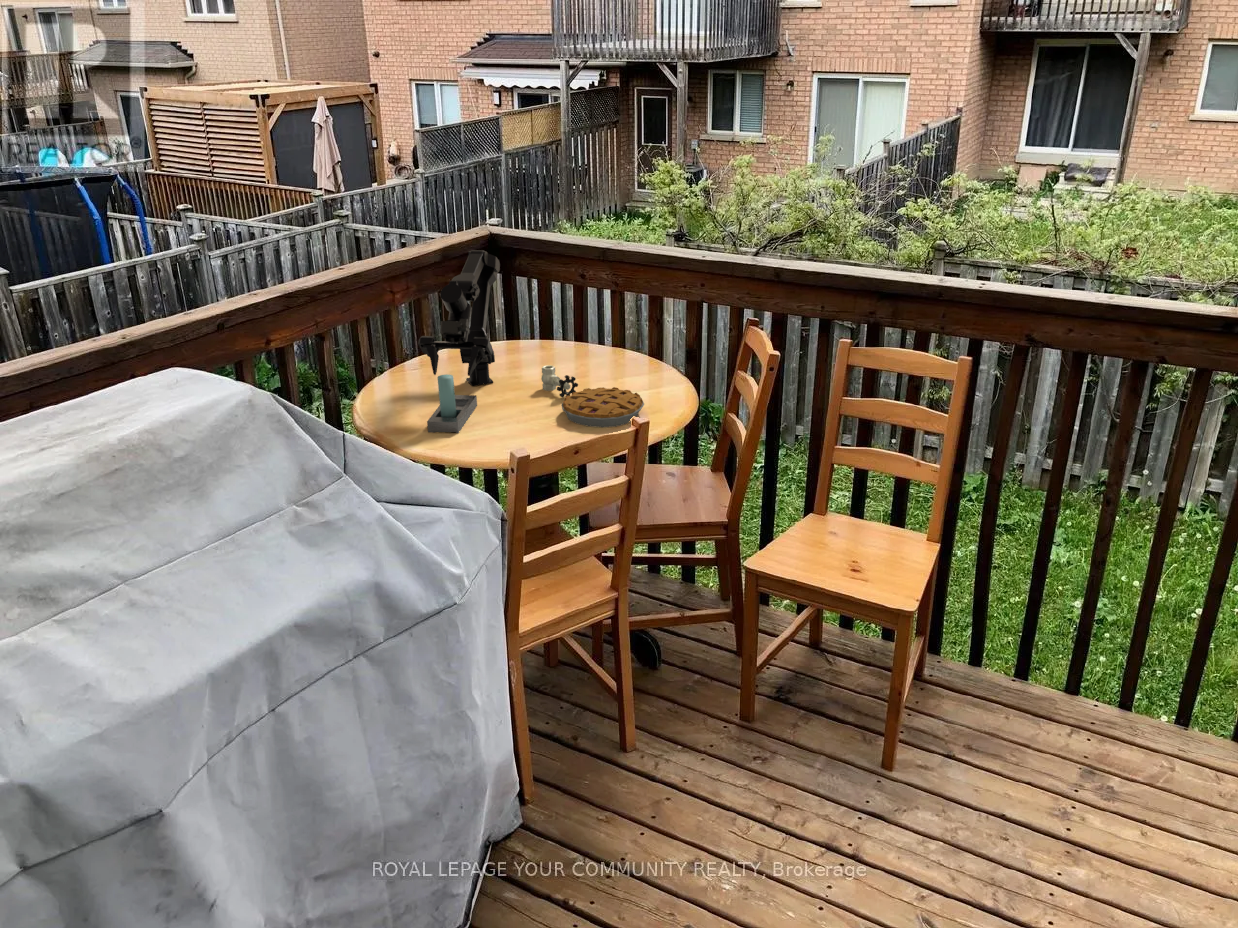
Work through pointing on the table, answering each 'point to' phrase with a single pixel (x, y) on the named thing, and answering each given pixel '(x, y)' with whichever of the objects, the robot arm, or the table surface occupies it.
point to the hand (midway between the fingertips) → (451, 374)
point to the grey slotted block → (449, 424)
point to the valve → (557, 381)
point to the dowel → (447, 396)
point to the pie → (602, 407)
